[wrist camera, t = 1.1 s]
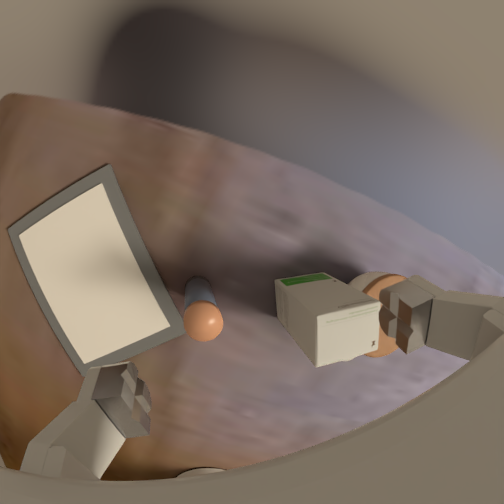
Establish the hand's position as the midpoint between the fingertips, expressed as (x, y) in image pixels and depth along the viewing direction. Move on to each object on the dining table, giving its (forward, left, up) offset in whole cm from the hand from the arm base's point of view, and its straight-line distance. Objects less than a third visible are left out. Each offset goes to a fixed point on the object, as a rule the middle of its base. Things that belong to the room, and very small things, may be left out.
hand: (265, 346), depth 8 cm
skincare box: (-13, -10, -32) cm, 36 cm away
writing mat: (+3, +18, -32) cm, 37 cm away
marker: (-5, +3, -32) cm, 33 cm away
